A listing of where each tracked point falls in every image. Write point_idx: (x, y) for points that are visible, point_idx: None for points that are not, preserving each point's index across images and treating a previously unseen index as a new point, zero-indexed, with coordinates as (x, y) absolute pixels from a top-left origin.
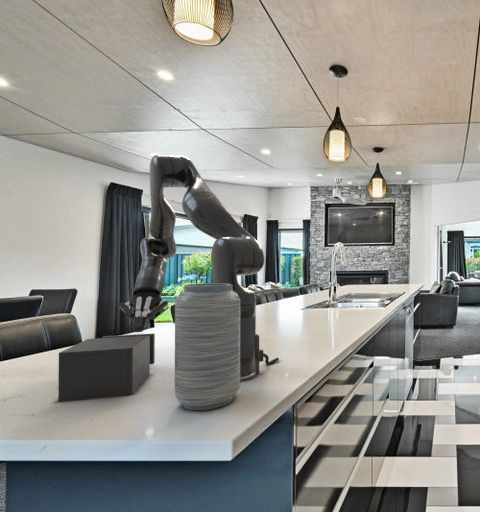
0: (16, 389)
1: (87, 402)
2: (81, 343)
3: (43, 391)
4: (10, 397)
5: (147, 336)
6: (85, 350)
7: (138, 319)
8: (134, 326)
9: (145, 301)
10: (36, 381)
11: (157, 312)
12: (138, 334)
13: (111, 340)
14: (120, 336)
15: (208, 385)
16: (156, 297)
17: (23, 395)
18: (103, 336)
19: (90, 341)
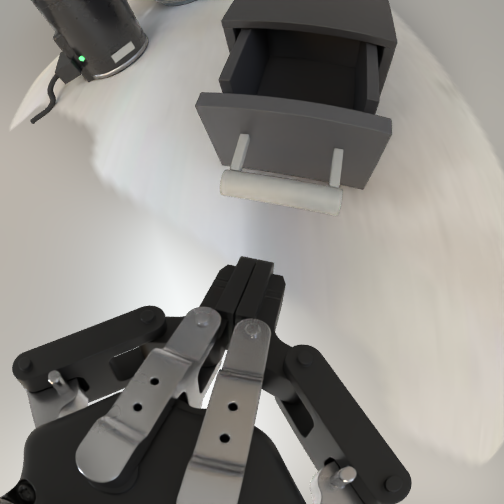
0: (476, 135)
1: None
2: (382, 6)
3: (424, 92)
4: (456, 92)
5: (228, 12)
6: None
7: (251, 302)
8: (278, 278)
9: (156, 465)
10: (473, 177)
11: (116, 373)
12: (255, 105)
13: (319, 2)
14: (324, 105)
15: None
16: (50, 462)
17: (443, 90)
18: (390, 129)
19: (371, 12)
